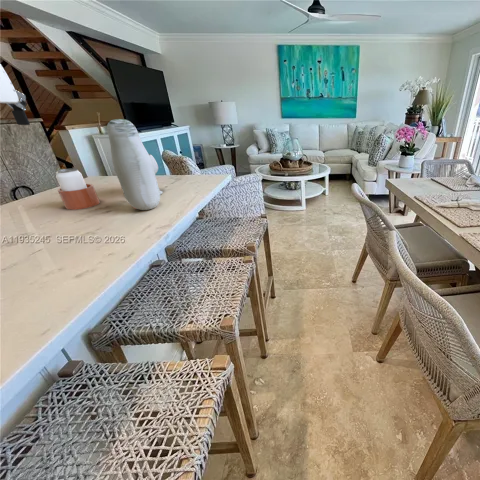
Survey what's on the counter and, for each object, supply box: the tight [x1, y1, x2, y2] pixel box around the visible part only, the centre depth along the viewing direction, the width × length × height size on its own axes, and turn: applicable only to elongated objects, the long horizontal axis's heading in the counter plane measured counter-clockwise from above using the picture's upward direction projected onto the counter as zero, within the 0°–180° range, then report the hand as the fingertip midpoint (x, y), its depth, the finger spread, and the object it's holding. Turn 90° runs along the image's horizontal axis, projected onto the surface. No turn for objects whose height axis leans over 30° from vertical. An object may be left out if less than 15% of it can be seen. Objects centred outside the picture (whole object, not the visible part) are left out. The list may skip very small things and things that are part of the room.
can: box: [55, 168, 87, 191], centre depth 88 cm, size 6×6×12 cm
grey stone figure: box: [106, 118, 161, 211], centre depth 84 cm, size 10×10×28 cm
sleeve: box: [57, 183, 101, 211], centre depth 90 cm, size 9×9×7 cm
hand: (8, 125), depth 77 cm, fingers open, 9 cm apart
